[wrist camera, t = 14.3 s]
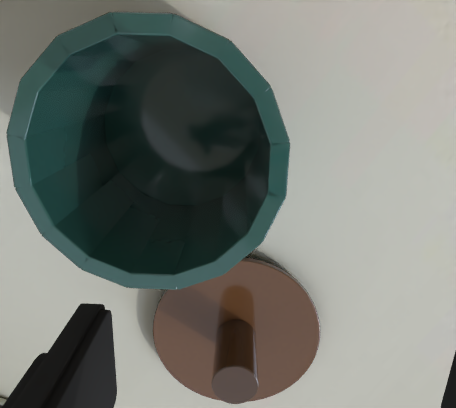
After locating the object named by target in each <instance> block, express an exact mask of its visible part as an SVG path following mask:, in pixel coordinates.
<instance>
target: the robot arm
mask: <svg viewBox="0 0 456 408" xmlns="http://www.w3.org/2000/svg"><path fill="white" fill-rule="evenodd" d="M116 395H117V385H116V371H115V357H114V342H113V328H112V315H111V311H110V310H105V307H104V305H103V304H80V306H79V307H78V308H77V310H76V311H75V313H74V314H73V316H72V317H71V319H70V320H69V322H68V323H67V325H66V326H65V328H64V329H63V331H62V332H61V334H60V335H59V337H58V338H57V340H56V341H55V343H54V344H53V346H52V347H51V349H50V350H49V352H48V353H42V354H40V355H39V356H38V357H37V358H36V359H35V360H34V362H33V363H32V365H31V366H30V368H29V369H28V370H27V372H26V373H25V375H24V376H23V378H22V379H21V380H20V382H19V383H18V385H17V386H16V388H15V389H14V390H13V392H12V393H11V395H10V396H9V398H8V399H7V400H6V402H5V403H4V405H3V406H2V408H113V407H114V404H115V401H116ZM441 408H456V352H455V356H454V359H453V363H452V367H451V370H450V374H449V378H448V382H447V385H446V389H445V393H444V396H443V400H442V404H441Z"/></svg>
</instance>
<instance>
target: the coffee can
mask: <svg viewBox="0 0 456 408" xmlns="http://www.w3.org/2000/svg"><path fill="white" fill-rule="evenodd" d="M6 400H7V399H3V398H0V408H2V406H3V405H4V403H5V402H6Z"/></svg>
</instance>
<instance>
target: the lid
mask: <svg viewBox="0 0 456 408" xmlns="http://www.w3.org/2000/svg"><path fill="white" fill-rule="evenodd" d="M153 337H154V343H155V347H156V350H157V353H158V355H159V357H160V359H161V361H162V363H163V364H164V366H165V367H166V369H167V370H168V371H169V372H170V374H171V375H172V376H173V377H174V378H175V379H177V380H178V381H179V382H180V383H181V384H183V385H184V386H185V387H187V388H189V389H191V390H192V391H194V392H196V393H198V394H201V395H203V396H206V397H209V398H212V399H216V400H221V401H224V402H227V403H231V404H240V403H244V402H247V401H255V400H260V399H264V398H267V397H270V396H273V395H275V394H277V393H279V392H282V391H283V390H285V389H287V388H288V387H290V386H291V385H292V384H294V383H295V382H296V381H297V380H299V379H300V378H301V376H302V375H303V374H304V373H305V372H306V371H307V369H308V368H309V367H310V365H311V363H312V362H313V360H314V358H315V355H316V352H317V350H318V346H319V341H320V323H319V318H318V314H317V311H316V308H315V305H314V303H313V301H312V299H311V297H310V296H309V294H308V292H307V291H306V290H305V288H304V287H303V286H302V285H301V284H300V283H299V282H298V281H297V280H296V279H295V278H294V277H293V276H291V275H290V274H288V273H287V272H285V271H284V270H282V269H281V268H278V267H276V266H274V265H272V264H270V263H267V262H264V261H261V260H256V259H252V258H243V259H242V260H241V261H240V262H239V263H237V264H236V265H235V266H234V267H233V268H231V269H230V270H229V271H228V272H227V273H225V274H224V275H222V276H219V277H216V278H213V279H210V280H207V281H204V282H201V283H198V284H194V285H191V286H188V287H185V288H182V289H179V290H178V289H177V290H170V289H167V290H166V291H165V292H164V294H163V296H162V298H161V299H160V301H159V304H158V307H157V310H156V312H155V316H154V322H153Z"/></svg>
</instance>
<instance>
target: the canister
mask: <svg viewBox="0 0 456 408" xmlns="http://www.w3.org/2000/svg"><path fill="white" fill-rule="evenodd" d="M7 141H8V148H9V155H10V161H11V168H12V175H13V181H14V187H16V188H15V189H16V191H17V193H18V195H19V197H20V199H21V200H22V202H23V204H24V206H25V207H26V209H27V211H28V213H29V214H30V216H31V218H32V220H33V221H34V223H35V225H36V227H37V229H38V230H39V232H40V233H41V234H42V236H43V237H44V238H45V239H46V240H47V241H49V242H50V243H51V244H52V245H53V246H54V247H56V248H57V249H58V250H59V251H60V252H61V253H63V254H64V255H65V256H66V257H67V258H68V259H69V260H71V261H72V262H73V263H74V264H75V265H76V266H78V267H79V268H81V269H82V270H84V271H86V272H89V273H91V274H94V275H96V276H99V277H101V278H104V279H106V280H109V281H111V282H114V283H117V284H119V285H122V286H124V287H127V288H128V287H129V288H144V289H170V290H177V289H178V290H179V289H182V288H185V287H188V286H191V285H194V284H198V283H201V282H204V281H207V280H210V279H213V278H216V277H219V276H222V275H224V274H225V273H227V272H228V271H229V270H230V269H231V268H233V267H234V266H235V265H236V264H237V263H239V262H240V261H241V260H242V259H243V258H245V257H246V256H247V255H248V254H249V253H251V252H252V251H253V250H254V249H255V248H257V247H258V246H259V245H260V244H261V243H262V242H263V241H264V239H265V237H266V235H267V233H268V231H269V229H270V227H271V225H272V223H273V221H274V219H275V218H276V216H277V214H278V212H279V210H280V208H281V206H282V204H283V202H284V200H285V198H286V193H287V179H288V166H289V152H290V142H289V137H288V134H287V131H286V129H285V126H284V123H283V120H282V117H281V114H280V111H279V108H278V105H277V102H276V99H275V96H274V93H273V90H272V88H271V86H270V84H269V83H268V82H267V81H266V80H265V79H264V78H263V77H262V75H261V74H260V73H259V72H258V71H257V70H256V69H255V67H254V66H253V65H252V64H251V63H250V62H249V61H248V60H247V58H246V57H245V56H244V55H243V54H242V53H241V52H240V50H239V49H238V48H237V47H236V46H235V45H234V44H233V43H232V41H230V40H229V39H227V38H225V37H223V36H221V35H219V34H216V33H214V32H212V31H210V30H208V29H206V28H204V27H202V26H200V25H198V24H195V23H193V22H191V21H189V20H187V19H185V18H183V17H181V16H179V15H177V14H172V13H150V12H109V13H107V14H104V15H102V16H100V17H98V18H95V19H93V20H91V21H89V22H87V23H84V24H82V25H80V26H78V27H75V28H73V29H71V30H69V31H67V32H64V33H62V34H60V35H58V36H57V37H55V39H54V40H53V41H52V42H51V43H50V45H49V46H48V47H47V48H46V49H45V51H44V52H43V53H42V54H41V55H40V57H39V58H38V59H37V60H36V61H35V63H34V64H33V65H32V66H31V67H30V69H29V70H28V71H27V72H26V74H25V75H24V76H23V77H22V78H21V81H20V83H19V86H18V90H17V94H16V98H15V102H14V106H13V109H12V113H11V117H10V121H9V125H8V129H7Z"/></svg>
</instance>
